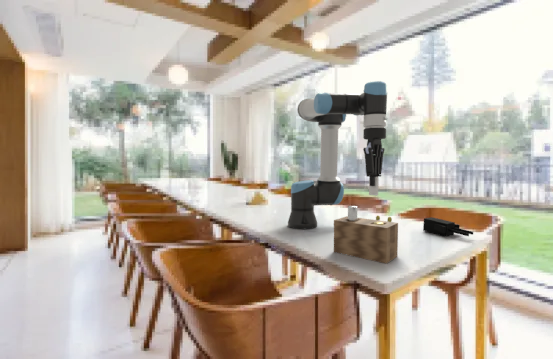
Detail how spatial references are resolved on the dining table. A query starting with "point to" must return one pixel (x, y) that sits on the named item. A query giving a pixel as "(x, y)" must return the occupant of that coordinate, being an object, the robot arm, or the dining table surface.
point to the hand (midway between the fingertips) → (373, 194)
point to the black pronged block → (443, 227)
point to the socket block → (366, 239)
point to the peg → (352, 213)
